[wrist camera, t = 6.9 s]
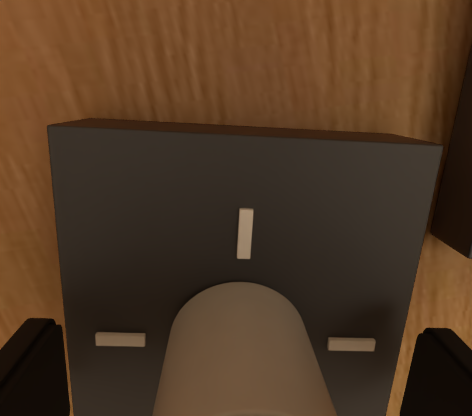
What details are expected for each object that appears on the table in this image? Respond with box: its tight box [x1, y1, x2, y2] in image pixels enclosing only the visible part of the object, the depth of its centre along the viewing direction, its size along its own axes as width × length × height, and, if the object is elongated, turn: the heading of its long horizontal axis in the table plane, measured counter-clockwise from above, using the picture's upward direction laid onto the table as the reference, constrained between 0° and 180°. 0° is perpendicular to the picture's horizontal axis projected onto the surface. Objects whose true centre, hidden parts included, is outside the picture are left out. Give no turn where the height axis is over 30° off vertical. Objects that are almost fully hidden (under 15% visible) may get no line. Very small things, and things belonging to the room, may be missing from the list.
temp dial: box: [152, 282, 337, 416], centre depth 9 cm, size 4×4×5 cm
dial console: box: [47, 118, 443, 416], centre depth 12 cm, size 12×10×3 cm
